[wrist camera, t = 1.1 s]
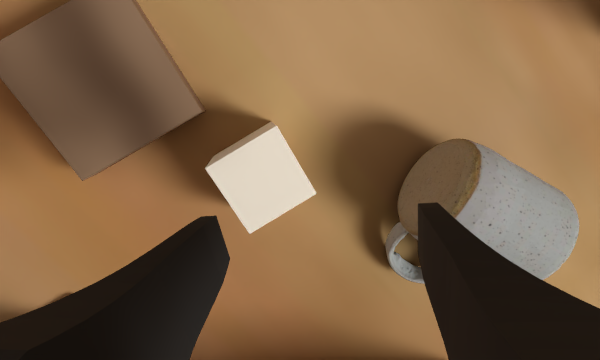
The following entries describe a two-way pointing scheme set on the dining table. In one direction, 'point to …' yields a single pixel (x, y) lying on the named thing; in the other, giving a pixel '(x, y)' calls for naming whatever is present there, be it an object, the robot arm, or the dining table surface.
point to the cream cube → (260, 177)
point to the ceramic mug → (487, 207)
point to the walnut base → (97, 81)
